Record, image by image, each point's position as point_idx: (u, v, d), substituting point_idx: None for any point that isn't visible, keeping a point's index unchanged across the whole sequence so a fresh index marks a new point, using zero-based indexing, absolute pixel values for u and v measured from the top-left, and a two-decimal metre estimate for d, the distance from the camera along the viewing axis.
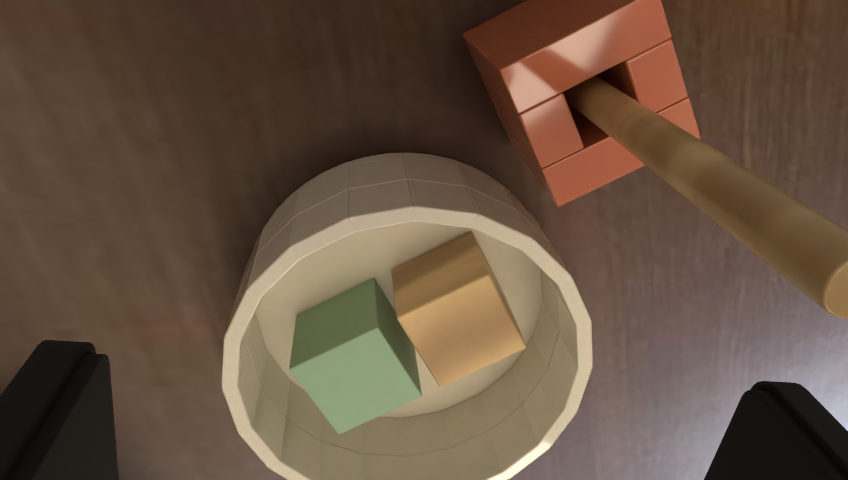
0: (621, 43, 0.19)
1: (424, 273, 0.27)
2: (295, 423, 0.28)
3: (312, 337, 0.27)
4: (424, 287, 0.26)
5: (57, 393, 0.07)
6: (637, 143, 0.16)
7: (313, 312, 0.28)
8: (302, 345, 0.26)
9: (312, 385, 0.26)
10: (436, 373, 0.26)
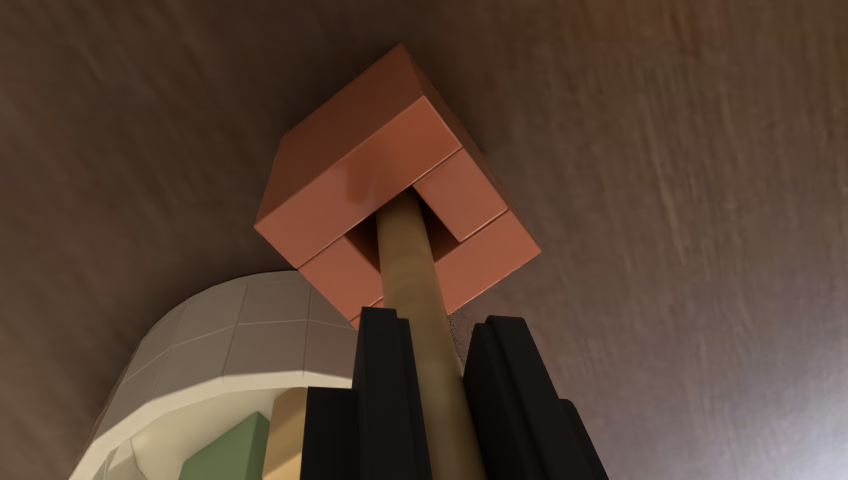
0: (398, 166, 0.15)
1: (299, 409, 0.23)
2: None
3: None
4: (295, 432, 0.22)
5: (399, 346, 0.09)
6: None
7: (197, 460, 0.25)
8: None
9: None
10: None
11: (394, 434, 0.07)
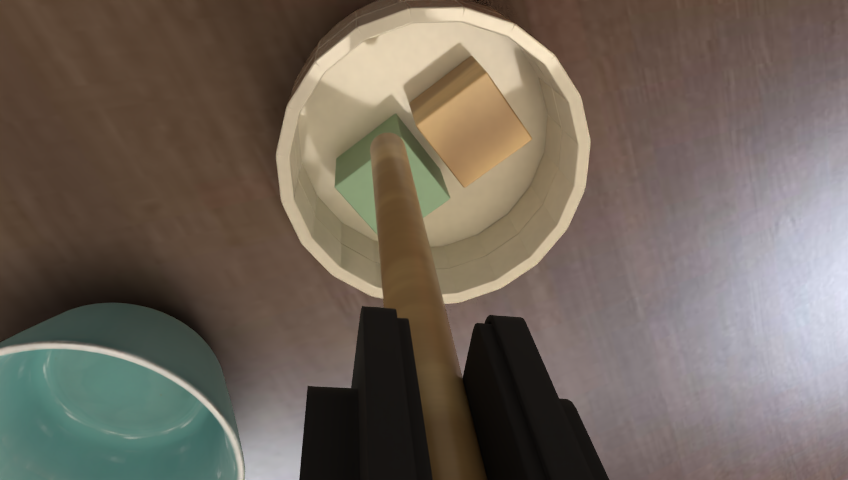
0: None
1: (435, 93, 0.31)
2: (350, 248, 0.33)
3: (350, 163, 0.31)
4: (436, 100, 0.30)
5: (399, 346, 0.09)
6: None
7: (349, 151, 0.33)
8: (343, 170, 0.31)
9: (356, 199, 0.31)
10: (458, 174, 0.31)
11: (393, 435, 0.07)
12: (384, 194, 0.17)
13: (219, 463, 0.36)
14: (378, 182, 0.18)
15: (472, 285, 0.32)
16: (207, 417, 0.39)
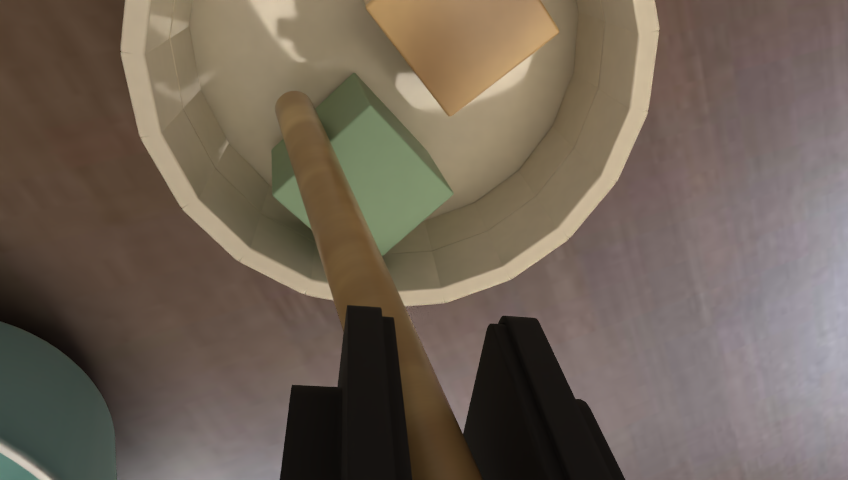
0: None
1: None
2: (276, 221, 0.21)
3: None
4: None
5: (383, 344, 0.09)
6: None
7: None
8: (283, 168, 0.20)
9: None
10: (440, 93, 0.19)
11: (374, 433, 0.07)
12: (299, 174, 0.16)
13: None
14: (292, 160, 0.17)
15: (465, 275, 0.20)
16: None
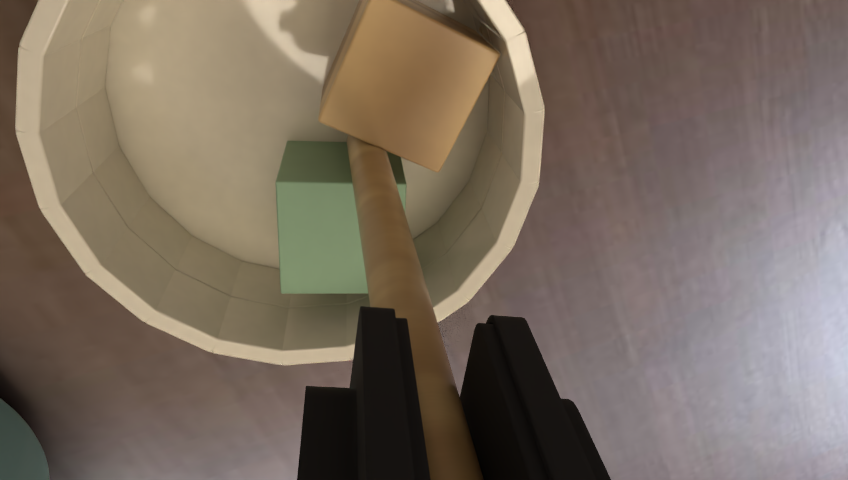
0: None
1: (338, 57, 0.20)
2: (191, 276, 0.22)
3: (311, 165, 0.21)
4: (336, 68, 0.19)
5: (397, 346, 0.09)
6: None
7: (312, 145, 0.22)
8: (296, 167, 0.20)
9: (290, 216, 0.20)
10: (419, 158, 0.19)
11: (391, 434, 0.07)
12: (359, 195, 0.16)
13: None
14: (355, 183, 0.17)
15: None
16: None
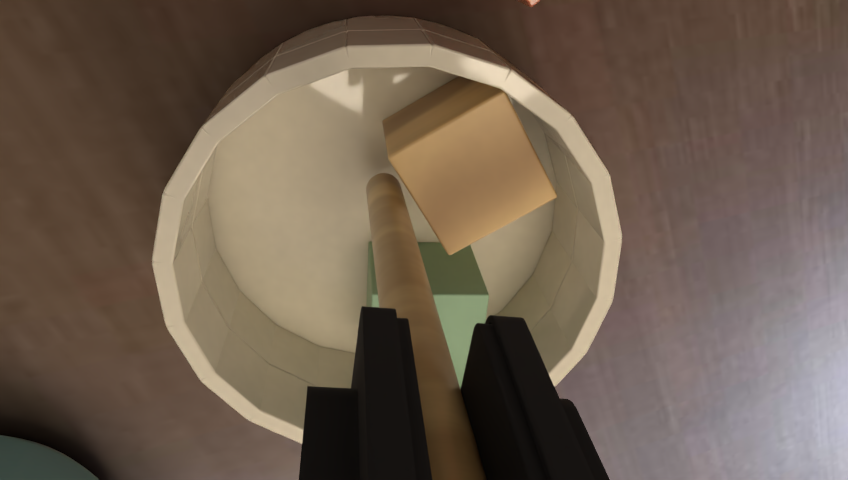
0: None
1: (423, 111, 0.21)
2: (282, 369, 0.24)
3: None
4: (423, 122, 0.20)
5: (399, 346, 0.09)
6: None
7: None
8: None
9: None
10: (443, 235, 0.21)
11: (393, 434, 0.07)
12: (385, 225, 0.17)
13: None
14: (378, 214, 0.18)
15: None
16: None
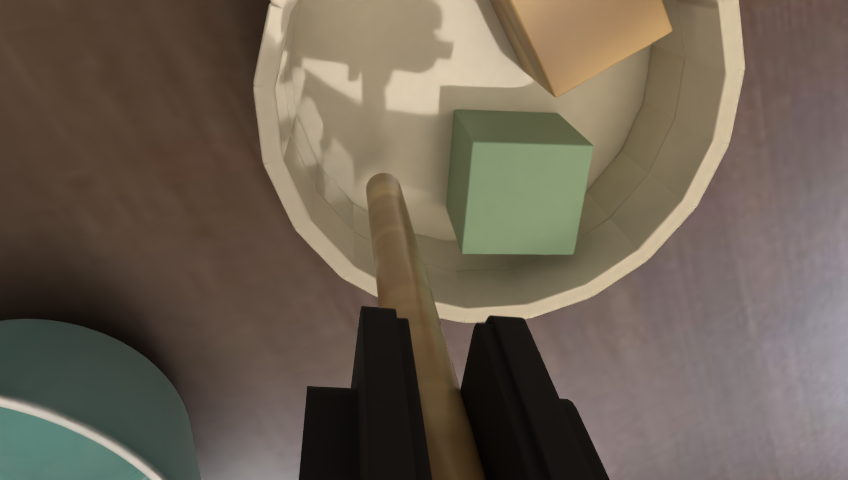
0: None
1: None
2: (367, 239, 0.23)
3: (494, 128, 0.22)
4: None
5: (399, 346, 0.09)
6: None
7: (482, 113, 0.23)
8: (482, 130, 0.21)
9: (481, 176, 0.21)
10: (551, 74, 0.19)
11: (392, 434, 0.07)
12: (384, 225, 0.17)
13: None
14: (378, 214, 0.18)
15: (549, 292, 0.22)
16: None
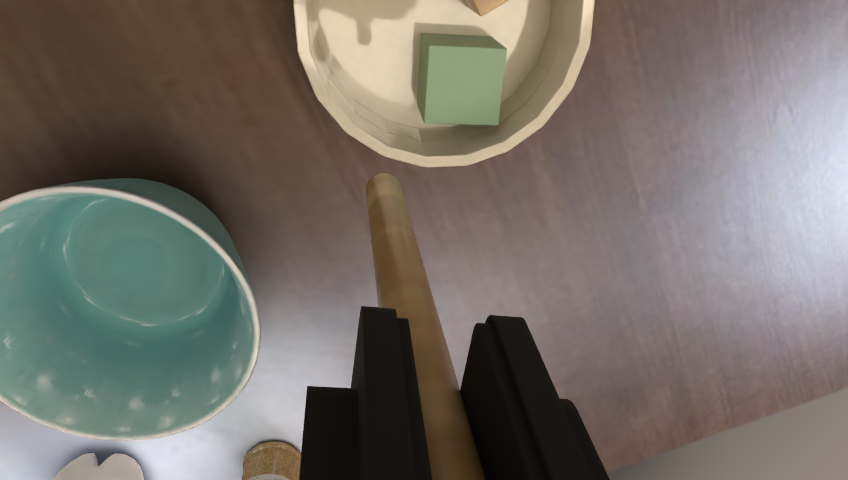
0: None
1: None
2: (362, 116, 0.34)
3: (444, 40, 0.33)
4: None
5: (399, 346, 0.09)
6: None
7: (439, 34, 0.35)
8: (436, 41, 0.33)
9: (435, 69, 0.32)
10: (477, 0, 0.31)
11: (392, 434, 0.07)
12: (384, 226, 0.17)
13: (234, 336, 0.37)
14: (378, 215, 0.18)
15: (481, 148, 0.33)
16: (221, 302, 0.40)
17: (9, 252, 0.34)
